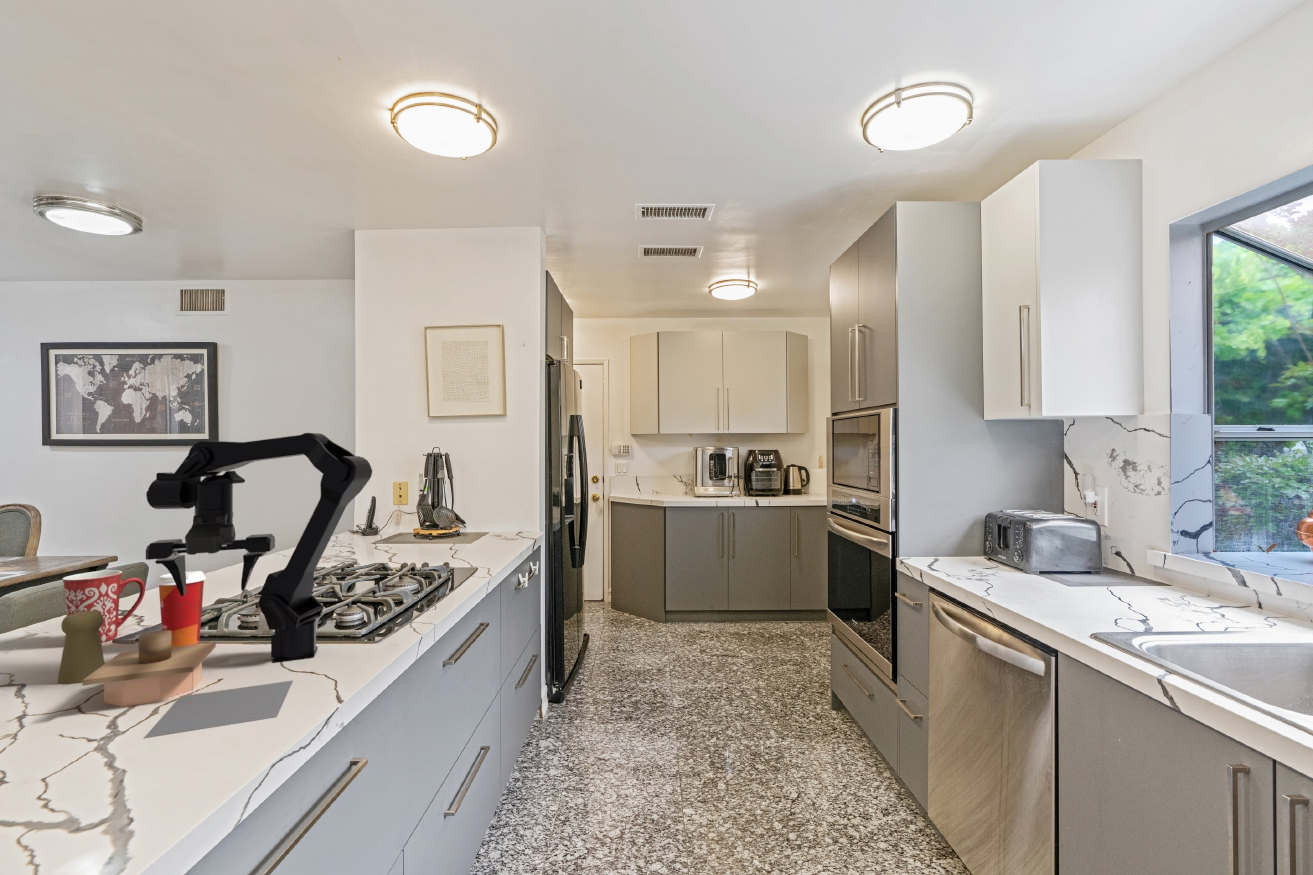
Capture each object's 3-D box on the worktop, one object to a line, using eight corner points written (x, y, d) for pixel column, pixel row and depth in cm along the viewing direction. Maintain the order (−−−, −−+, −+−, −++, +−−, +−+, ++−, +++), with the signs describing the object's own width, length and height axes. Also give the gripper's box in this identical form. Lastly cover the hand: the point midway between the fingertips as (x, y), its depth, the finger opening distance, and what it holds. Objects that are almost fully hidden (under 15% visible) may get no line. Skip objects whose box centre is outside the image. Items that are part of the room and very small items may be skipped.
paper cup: (174, 639, 123) (175, 570, 124) (214, 638, 124) (214, 569, 124) (145, 652, 116) (146, 578, 116) (188, 650, 116) (188, 577, 116)
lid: (215, 646, 104) (215, 618, 104) (192, 671, 92) (192, 639, 92) (120, 657, 99) (120, 628, 99) (82, 685, 87) (82, 652, 87)
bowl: (207, 675, 103) (207, 649, 103) (186, 699, 93) (186, 670, 93) (124, 686, 98) (125, 658, 99) (93, 713, 88) (93, 682, 88)
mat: (293, 682, 99) (293, 680, 99) (276, 719, 85) (276, 716, 85) (180, 698, 93) (180, 696, 93) (143, 740, 80) (143, 737, 80)
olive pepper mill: (76, 685, 99) (76, 617, 100) (47, 682, 101) (48, 616, 101) (115, 671, 105) (116, 608, 106) (88, 669, 106) (88, 607, 107)
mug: (58, 651, 117) (59, 581, 117) (64, 640, 124) (65, 574, 124) (144, 637, 125) (144, 572, 125) (145, 628, 132) (145, 566, 132)
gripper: (133, 515, 101) (132, 608, 101) (264, 509, 109) (264, 596, 108) (157, 509, 112) (156, 594, 111) (275, 504, 119) (275, 584, 119)
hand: (213, 592), depth 112 cm, fingers open, 9 cm apart
